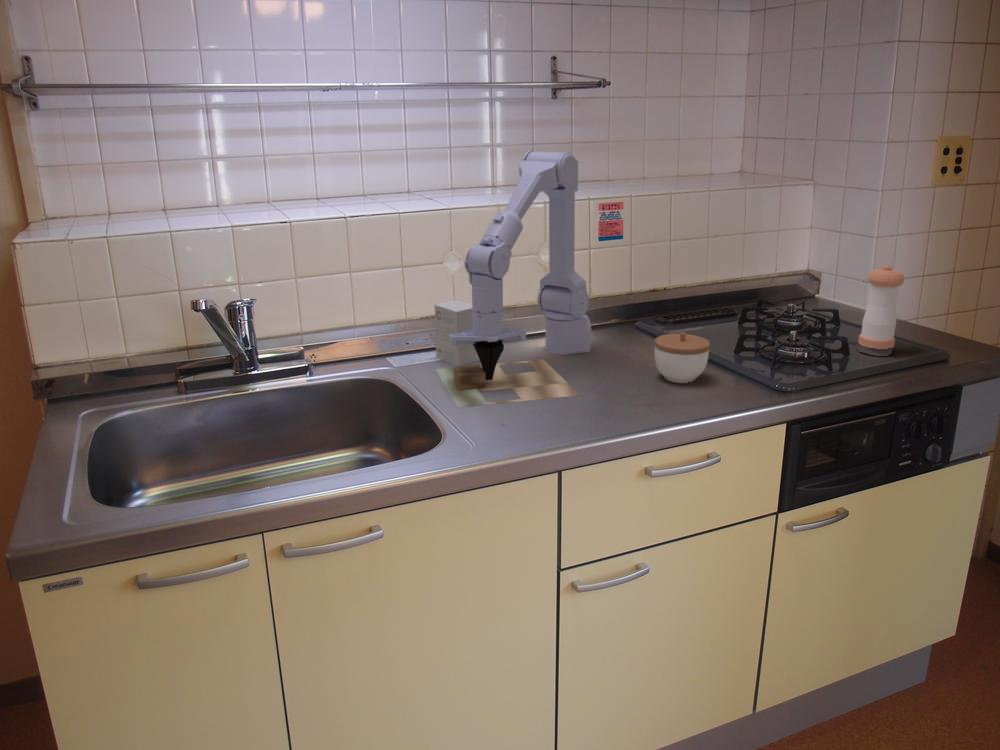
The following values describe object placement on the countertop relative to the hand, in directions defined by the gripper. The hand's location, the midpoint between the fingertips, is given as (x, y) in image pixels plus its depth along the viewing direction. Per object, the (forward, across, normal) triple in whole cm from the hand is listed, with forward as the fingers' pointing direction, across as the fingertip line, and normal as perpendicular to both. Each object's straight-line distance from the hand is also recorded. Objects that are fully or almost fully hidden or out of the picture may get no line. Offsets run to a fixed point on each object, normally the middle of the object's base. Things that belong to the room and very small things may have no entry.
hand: (488, 378), depth 157 cm
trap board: (+2, +3, 0) cm, 4 cm away
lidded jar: (+3, +39, -4) cm, 39 cm away
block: (+1, -4, 0) cm, 4 cm away
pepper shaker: (+3, +88, 0) cm, 88 cm away
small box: (+3, -2, +16) cm, 17 cm away
